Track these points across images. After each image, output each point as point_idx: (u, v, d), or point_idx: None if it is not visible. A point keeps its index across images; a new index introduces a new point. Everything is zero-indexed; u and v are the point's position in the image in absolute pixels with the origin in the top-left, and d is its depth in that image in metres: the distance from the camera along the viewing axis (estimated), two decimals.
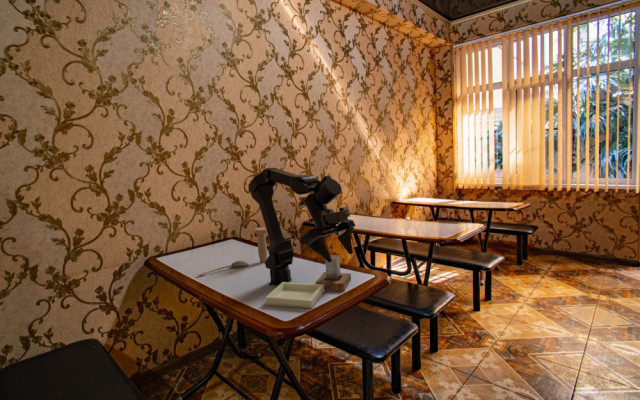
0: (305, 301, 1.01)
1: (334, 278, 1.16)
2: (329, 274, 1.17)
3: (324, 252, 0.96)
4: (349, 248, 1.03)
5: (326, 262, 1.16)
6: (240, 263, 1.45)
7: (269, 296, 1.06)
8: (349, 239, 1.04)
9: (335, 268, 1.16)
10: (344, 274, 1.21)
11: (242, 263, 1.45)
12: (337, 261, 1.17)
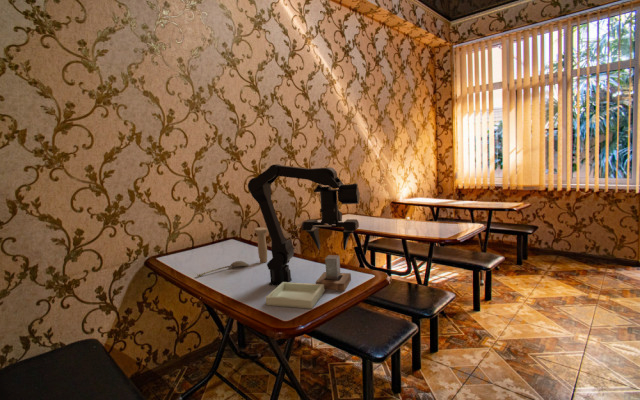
0: (305, 301, 1.01)
1: (334, 278, 1.16)
2: (329, 274, 1.17)
3: (347, 240, 1.16)
4: (319, 243, 1.19)
5: (326, 262, 1.16)
6: (239, 263, 1.44)
7: (269, 296, 1.06)
8: None
9: (335, 268, 1.16)
10: (344, 274, 1.21)
11: (241, 263, 1.45)
12: (337, 261, 1.17)
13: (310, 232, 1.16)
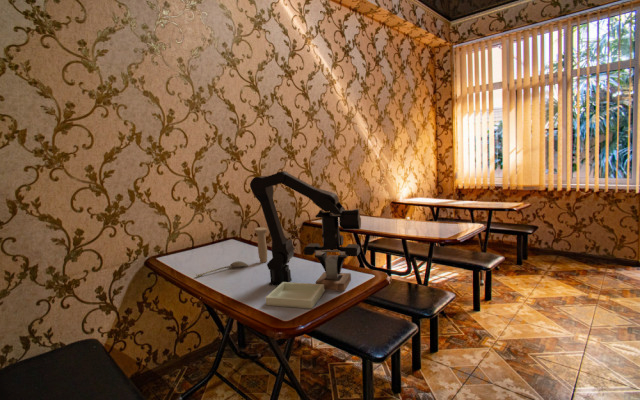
0: (305, 301, 1.01)
1: (334, 278, 1.16)
2: (329, 274, 1.17)
3: None
4: None
5: (326, 262, 1.16)
6: (239, 264, 1.44)
7: (269, 296, 1.06)
8: None
9: (335, 268, 1.16)
10: (344, 274, 1.21)
11: (241, 264, 1.44)
12: (337, 261, 1.17)
13: (318, 257, 1.16)
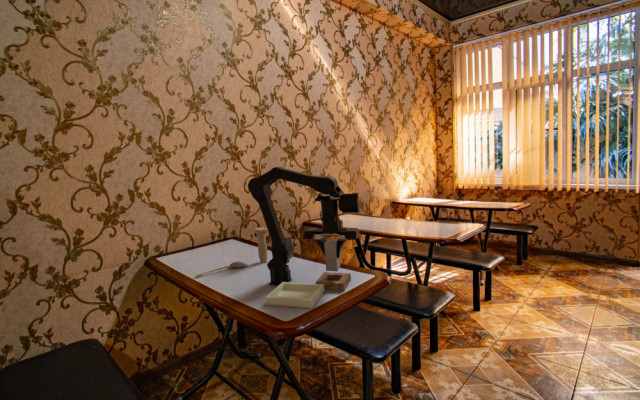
0: (305, 301, 1.01)
1: (333, 262, 1.16)
2: (328, 258, 1.16)
3: (341, 249, 1.17)
4: None
5: (325, 246, 1.16)
6: (238, 264, 1.44)
7: (269, 296, 1.06)
8: None
9: (334, 252, 1.15)
10: (344, 274, 1.21)
11: (240, 264, 1.44)
12: (336, 245, 1.16)
13: (318, 241, 1.15)
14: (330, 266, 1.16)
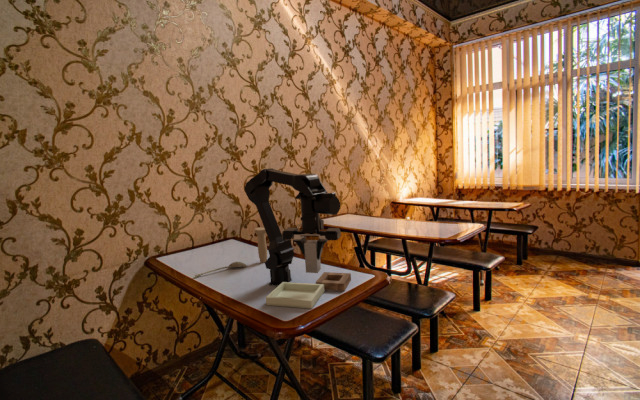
0: (305, 301, 1.01)
1: (313, 264, 1.11)
2: (308, 259, 1.11)
3: None
4: None
5: (305, 247, 1.11)
6: (238, 264, 1.43)
7: (269, 296, 1.06)
8: None
9: (315, 253, 1.10)
10: (344, 274, 1.21)
11: (240, 264, 1.44)
12: None
13: (297, 241, 1.10)
14: (311, 268, 1.11)
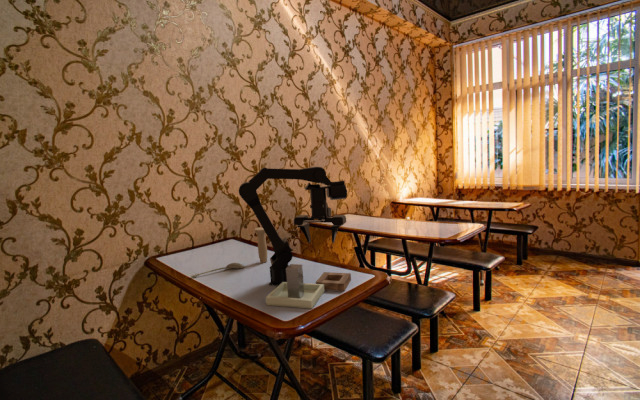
0: (305, 301, 1.01)
1: (295, 290, 1.07)
2: (290, 285, 1.07)
3: (335, 234, 1.24)
4: (309, 237, 1.27)
5: (287, 272, 1.07)
6: (234, 265, 1.42)
7: (269, 296, 1.06)
8: None
9: (296, 279, 1.06)
10: (344, 274, 1.21)
11: (237, 265, 1.42)
12: (299, 271, 1.07)
13: (301, 227, 1.24)
14: (293, 294, 1.07)
